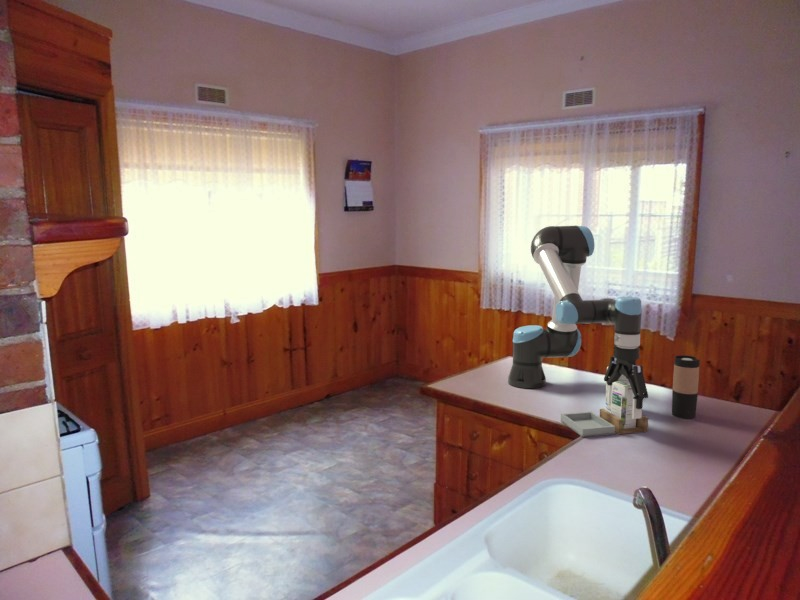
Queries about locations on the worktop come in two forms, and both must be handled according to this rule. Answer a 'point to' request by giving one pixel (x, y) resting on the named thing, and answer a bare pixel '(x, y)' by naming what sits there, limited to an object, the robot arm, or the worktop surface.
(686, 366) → the travel mug
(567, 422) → the tray
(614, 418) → the cradle
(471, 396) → the worktop surface
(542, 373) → the robot arm
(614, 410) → the syrup box
